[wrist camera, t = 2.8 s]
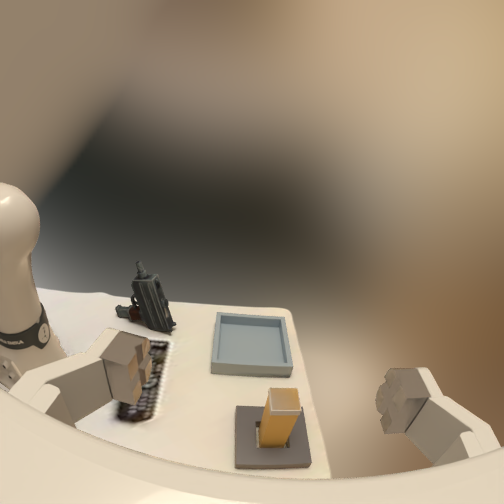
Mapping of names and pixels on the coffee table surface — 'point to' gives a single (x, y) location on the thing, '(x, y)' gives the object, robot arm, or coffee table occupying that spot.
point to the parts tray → (251, 346)
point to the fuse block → (268, 457)
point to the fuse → (279, 417)
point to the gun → (148, 302)
